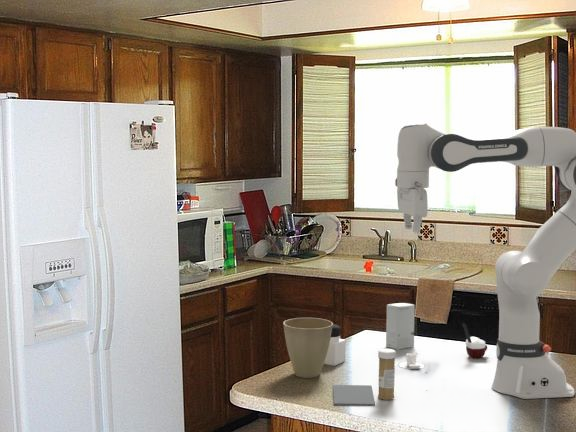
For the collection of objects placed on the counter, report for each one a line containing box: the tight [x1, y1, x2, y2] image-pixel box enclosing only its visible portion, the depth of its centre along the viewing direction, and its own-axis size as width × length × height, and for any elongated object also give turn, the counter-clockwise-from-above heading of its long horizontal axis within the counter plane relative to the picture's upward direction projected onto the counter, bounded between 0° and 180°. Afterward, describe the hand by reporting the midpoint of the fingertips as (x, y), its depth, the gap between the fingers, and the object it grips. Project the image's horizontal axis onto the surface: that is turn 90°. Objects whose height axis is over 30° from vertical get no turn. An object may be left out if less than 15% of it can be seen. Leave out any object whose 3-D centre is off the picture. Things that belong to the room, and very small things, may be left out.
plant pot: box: [282, 317, 334, 379], centre depth 254 cm, size 15×15×16 cm
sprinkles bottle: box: [377, 348, 396, 401], centre depth 231 cm, size 5×5×13 cm
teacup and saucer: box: [398, 352, 425, 370], centre depth 264 cm, size 9×8×4 cm
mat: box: [332, 384, 376, 407], centre depth 233 cm, size 11×17×1 cm, turn 178°
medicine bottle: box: [323, 323, 347, 367], centre depth 268 cm, size 7×7×12 cm
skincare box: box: [385, 302, 416, 351], centre depth 288 cm, size 8×6×15 cm
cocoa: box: [461, 322, 488, 360], centre depth 274 cm, size 10×6×12 cm, turn 94°
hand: (412, 230), depth 236 cm, fingers open, 8 cm apart
